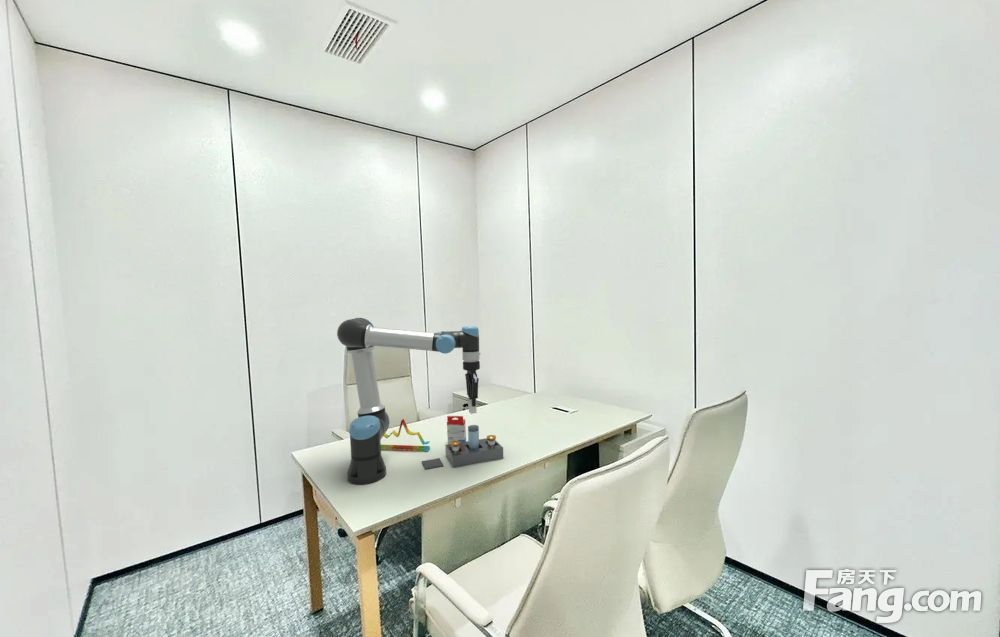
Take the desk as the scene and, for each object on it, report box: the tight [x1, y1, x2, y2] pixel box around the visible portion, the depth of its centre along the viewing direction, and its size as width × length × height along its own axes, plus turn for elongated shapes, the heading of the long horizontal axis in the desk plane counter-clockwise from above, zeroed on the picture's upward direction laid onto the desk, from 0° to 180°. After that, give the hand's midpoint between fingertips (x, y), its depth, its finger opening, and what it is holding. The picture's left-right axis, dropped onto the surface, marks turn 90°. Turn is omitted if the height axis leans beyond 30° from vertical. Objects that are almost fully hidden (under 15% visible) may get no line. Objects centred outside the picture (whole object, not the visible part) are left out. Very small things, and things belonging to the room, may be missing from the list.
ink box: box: [446, 415, 467, 445], centre depth 193 cm, size 8×5×15 cm, turn 84°
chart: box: [381, 418, 431, 453], centre depth 187 cm, size 30×3×15 cm, turn 82°
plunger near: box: [451, 441, 460, 453], centre depth 174 cm, size 4×4×8 cm
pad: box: [421, 457, 444, 470], centre depth 170 cm, size 8×8×1 cm
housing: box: [444, 437, 504, 468], centre depth 177 cm, size 23×14×5 cm, turn 111°
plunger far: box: [486, 434, 497, 446], centre depth 180 cm, size 4×4×8 cm
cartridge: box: [467, 424, 480, 450], centre depth 176 cm, size 5×5×14 cm
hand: (472, 412), depth 176 cm, fingers closed
